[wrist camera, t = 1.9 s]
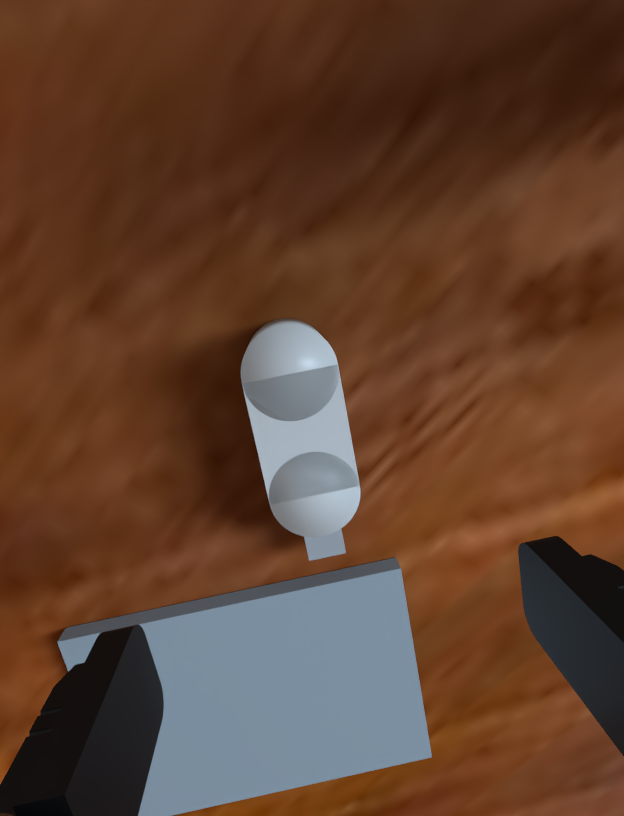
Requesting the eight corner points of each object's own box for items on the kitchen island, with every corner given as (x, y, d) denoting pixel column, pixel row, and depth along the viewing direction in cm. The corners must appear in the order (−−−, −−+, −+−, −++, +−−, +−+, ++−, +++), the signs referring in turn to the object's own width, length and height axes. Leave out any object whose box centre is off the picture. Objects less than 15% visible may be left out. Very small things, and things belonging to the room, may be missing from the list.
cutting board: (395, 557, 30) (400, 568, 29) (426, 740, 33) (431, 757, 32) (65, 628, 30) (57, 641, 28) (131, 806, 33) (126, 825, 32)
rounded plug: (319, 310, 26) (329, 315, 22) (359, 524, 29) (374, 566, 25) (237, 327, 26) (230, 335, 22) (285, 540, 29) (288, 584, 25)
